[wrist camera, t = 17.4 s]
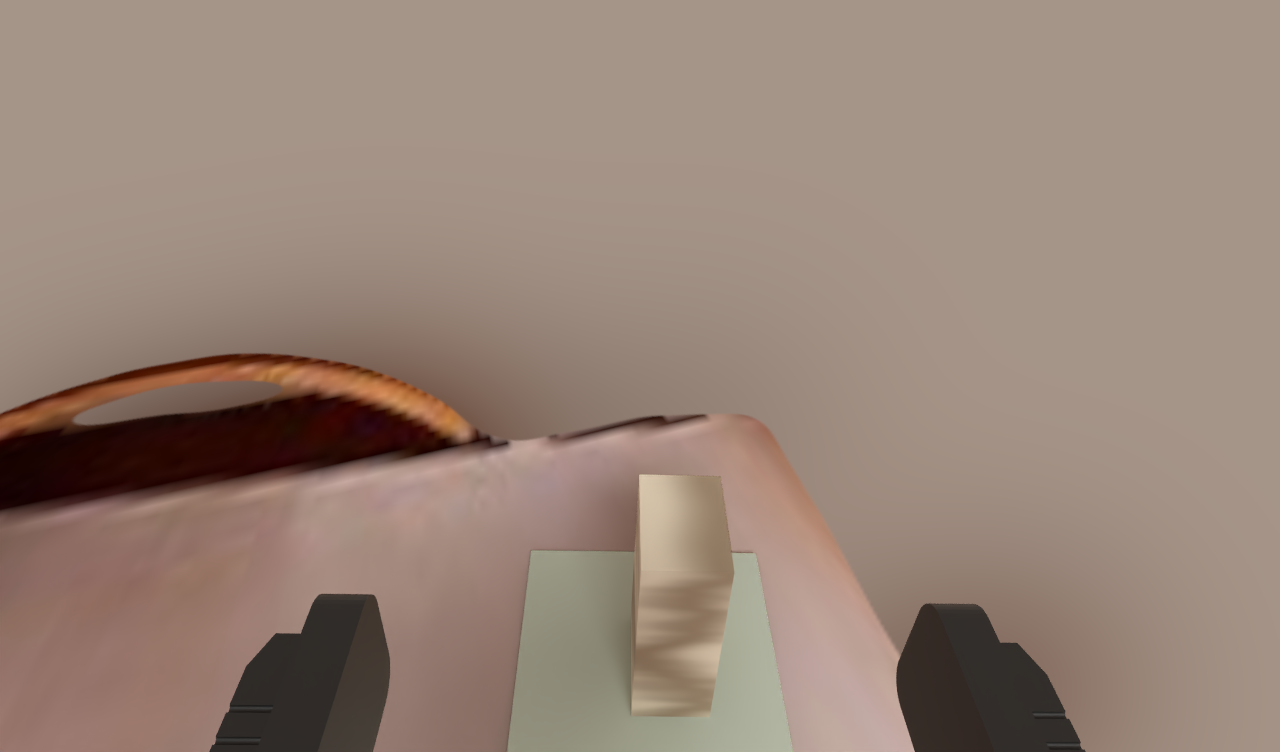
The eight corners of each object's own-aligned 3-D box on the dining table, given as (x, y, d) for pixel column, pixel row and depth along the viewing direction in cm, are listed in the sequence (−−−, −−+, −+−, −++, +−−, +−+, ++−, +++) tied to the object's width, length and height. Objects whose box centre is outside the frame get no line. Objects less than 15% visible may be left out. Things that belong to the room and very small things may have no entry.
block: (630, 716, 39) (640, 570, 33) (630, 617, 44) (639, 474, 38) (709, 717, 39) (734, 572, 33) (700, 618, 44) (720, 476, 38)
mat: (504, 780, 37) (503, 776, 37) (531, 554, 48) (531, 550, 48) (796, 780, 37) (798, 776, 37) (754, 557, 49) (755, 553, 49)
